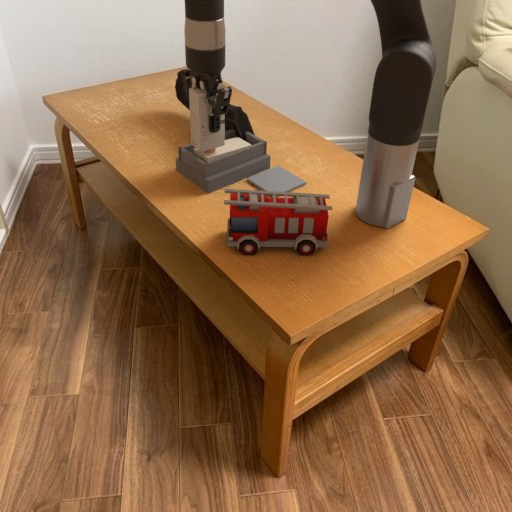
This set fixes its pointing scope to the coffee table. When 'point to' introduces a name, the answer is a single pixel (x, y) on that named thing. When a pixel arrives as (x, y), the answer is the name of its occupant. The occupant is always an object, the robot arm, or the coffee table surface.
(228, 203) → the toy fire truck
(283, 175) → the slate mat
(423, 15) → the robot arm
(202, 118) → the skincare box
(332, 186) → the coffee table surface
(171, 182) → the coffee table surface
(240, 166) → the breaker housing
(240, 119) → the magazine
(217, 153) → the white block with knob
